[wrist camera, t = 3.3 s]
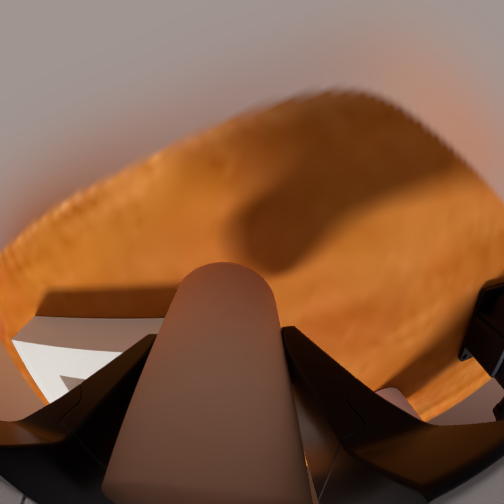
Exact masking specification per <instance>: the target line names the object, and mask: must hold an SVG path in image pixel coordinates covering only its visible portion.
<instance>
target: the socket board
mask: <svg viewBox="0 0 504 504" xmlns="http://www.w3.org/2000/svg"><path fill="white" fill-rule="evenodd" d="M163 321H164V318H136V319H106V318H65V317H44V316H34V317H33V318H32V319H31V320H30V321H29V322H28V323H27V324H26V325H25V326H24V327H23V328H22V329H21V330H20V331H19V332H18V333H17V334H16V335H15V337H14V338H13V339H12V342H13V344H14V346H15V348H16V349H17V351H18V353H19V355H20V357H21V359H22V360H23V362H24V364H25V366H26V367H27V369H28V371H29V372H30V374H31V376H32V377H33V379H34V381H35V382H36V384H37V385H38V387H39V388H40V390H41V391H42V393H43V394H44V396H45V397H46V399H47V400H48V402H49V403H52V402H53V401H55V400H57V399H58V398H60V397H62V396H63V395H64V394H66V393H67V392H69V391H70V390H72V389H73V388H75V387H76V386H77V385H79V384H81V383H82V382H83V381H84V380H86V379H87V378H88V377H90V376H91V375H93V374H94V373H95V372H97V371H98V370H99V369H101V368H102V367H104V366H105V365H106V364H108V363H109V362H111V361H112V360H113V359H115V358H116V357H117V356H119V355H120V354H122V353H123V352H124V351H126V350H127V349H128V348H130V347H131V346H133V345H134V344H135V343H137V342H138V341H139V340H141V339H142V338H144V337H145V336H146V335H148V334H158V332H159V330H160V328H161V325H162V323H163Z"/></svg>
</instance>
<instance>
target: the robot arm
mask: <svg viewBox="0 0 504 504" xmlns="http://www.w3.org/2000/svg"><path fill="white" fill-rule="evenodd" d="M281 333H282V338H283V343H284V348H285V353H286V358H287V363H288V369H289V374H290V379H291V384H292V390H293V395H294V400H295V406H296V411H297V417H298V422H299V428H300V433H301V439H302V444H303V449H304V453H305V456H306V460H307V463H308V467H309V471H310V474H311V477H312V481H313V485H314V488H315V492H316V495H317V499H318V501H319V504H504V397H503V398H502V400H501V401H500V402H499V403H498V404H497V405H496V406H495V407H494V408H493V413H494V416H495V418H496V422H488V423H478V424H466V425H447V426H439V425H432V424H429V423H426V422H424V421H422V420H420V419H418V418H416V417H414V416H413V415H411V414H409V413H407V412H406V411H404V410H402V409H401V408H399V407H397V406H396V405H394V404H392V403H391V402H389V401H387V400H386V399H384V398H383V397H381V396H380V395H378V394H377V393H375V392H374V391H372V390H371V389H370V388H368V387H367V386H366V385H364V384H363V383H362V382H361V381H360V380H358V379H357V378H355V377H354V376H353V375H352V374H351V373H350V372H348V371H347V370H346V369H345V368H344V367H342V366H341V365H340V364H339V363H337V362H336V361H335V360H334V359H333V358H331V357H330V356H329V355H328V354H327V353H325V352H324V351H323V350H322V349H321V348H320V347H318V346H317V345H316V344H315V343H314V342H312V341H311V340H310V339H309V338H308V337H306V336H305V335H304V334H303V333H302V332H301V331H299V330H298V329H297V328H296V327H295V326H287V327H282V329H281ZM157 335H158V334H148V335H146V336H145V337H144V338H142V339H141V340H139V341H138V342H137V343H135V344H134V345H133V346H131V347H130V348H128V349H127V350H126V351H124V352H123V353H122V354H120V355H119V356H117V357H116V358H115V359H113V360H112V361H111V362H109V363H108V364H106V365H105V366H104V367H102V368H101V369H99V370H98V371H97V372H95V373H94V374H93V375H91V376H90V377H88V378H87V379H86V380H84V381H83V382H82V383H81V384H79V385H77V386H76V387H75V388H73V389H72V390H70V391H69V392H67V393H66V394H64V395H63V396H62V397H60V398H58V399H57V400H55V401H53V402H52V403H50V404H48V405H47V406H45V407H43V408H42V409H40V410H38V411H37V412H35V413H33V414H31V415H29V416H28V417H26V418H24V419H22V420H18V421H11V422H7V421H0V504H115V503H114V502H113V501H111V500H110V499H109V498H108V497H107V496H106V495H105V494H104V493H103V492H102V489H101V487H102V483H103V480H104V477H105V474H106V470H107V467H108V464H109V461H110V458H111V455H112V452H113V449H114V446H115V443H116V440H117V437H118V435H119V432H120V429H121V426H122V423H123V420H124V418H125V415H126V412H127V410H128V407H129V404H130V402H131V399H132V396H133V394H134V391H135V388H136V386H137V383H138V381H139V378H140V376H141V373H142V371H143V368H144V366H145V363H146V361H147V358H148V356H149V354H150V351H151V349H152V346H153V344H154V342H155V339H156V337H157ZM472 357H474V358H475V359H476V360H477V361H478V363H479V364H480V365H481V366H482V367H483V368H484V370H485V371H486V372H487V373H488V374H489V376H490V377H491V378H493V377H494V378H495V379H496V381H497V382H498V383H499V384H500V385H501V387H502V388H503V389H504V283H501V284H497V285H494V286H490V287H487V288H484V289H482V290H481V292H480V294H479V297H478V300H477V304H476V307H475V310H474V314H473V317H472V320H471V323H470V326H469V329H468V331H467V334H466V337H465V340H464V342H463V345H462V347H461V350H460V352H459V355H458V359H459V360H460V361H461V362H462V361H465V360H467V359H469V358H472Z"/></svg>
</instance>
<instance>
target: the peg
mask: <svg viewBox="0 0 504 504" xmlns="http://www.w3.org/2000/svg"><path fill="white" fill-rule="evenodd" d="M101 489H102V492H103V493H104V494H105V495H106V496H107V497H108V498H109V499H110V500H111V501H113V502H114V503H115V504H313V502H312V496H311V490H310V484H309V479H308V473H307V467H306V461H305V455H304V450H303V444H302V439H301V433H300V428H299V422H298V417H297V411H296V406H295V400H294V395H293V390H292V384H291V379H290V374H289V369H288V363H287V358H286V353H285V348H284V343H283V338H282V333H281V327H280V322H279V317H278V312H277V307H276V302H275V298H274V294H273V292H272V290H271V288H270V287H269V285H268V283H267V282H266V281H265V280H264V279H263V278H262V277H261V276H260V275H259V274H257V273H256V272H254V271H253V270H251V269H249V268H247V267H244V266H242V265H239V264H234V263H226V262H219V263H211V264H207V265H204V266H202V267H199V268H197V269H195V270H194V271H192V272H191V273H190V274H188V275H187V276H186V277H185V278H184V279H183V281H182V282H181V284H180V285H179V287H178V289H177V291H176V294H175V296H174V298H173V300H172V303H171V305H170V307H169V309H168V312H167V314H166V316H165V318H164V321H163V323H162V325H161V328H160V330H159V332H158V335H157V337H156V339H155V342H154V344H153V346H152V349H151V351H150V354H149V356H148V358H147V361H146V363H145V366H144V368H143V371H142V373H141V376H140V378H139V381H138V383H137V386H136V388H135V391H134V394H133V396H132V399H131V402H130V404H129V407H128V410H127V412H126V415H125V418H124V420H123V423H122V426H121V429H120V432H119V435H118V437H117V440H116V443H115V446H114V449H113V452H112V455H111V458H110V461H109V464H108V467H107V470H106V474H105V477H104V480H103V483H102V487H101Z"/></svg>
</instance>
